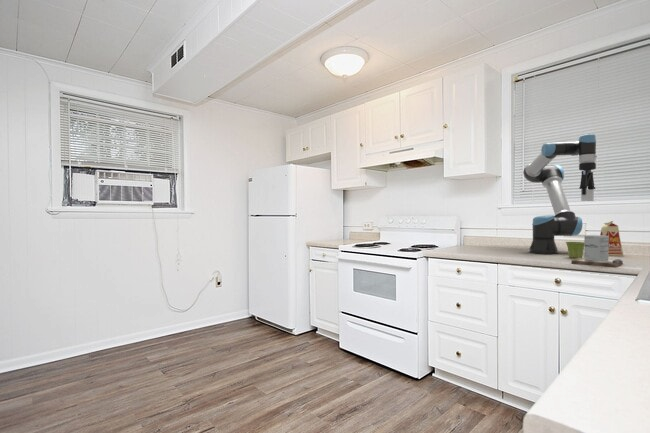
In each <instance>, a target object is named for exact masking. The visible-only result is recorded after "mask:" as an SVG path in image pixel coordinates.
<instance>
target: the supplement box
mask: <svg viewBox="0 0 650 433" xmlns="http://www.w3.org/2000/svg"><path fill="white" fill-rule="evenodd" d="M583 239H584V240H583V242H584V250H583V258H584V260H591V261H597V262H602V261H608V260H609V256H608V247H609V236H603V235H599V234H585V235H584V238H583Z"/></svg>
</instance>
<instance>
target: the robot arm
mask: <svg viewBox="0 0 650 433" xmlns="http://www.w3.org/2000/svg"><path fill="white" fill-rule="evenodd" d="M596 138H597V136H596V134H593V133H587V134H582V135H579V137H578V141H565V142H547V143H546V142H544V144H542V147H541V149H540V151H541V153H539V155H537V157H536V158H535V159H534V160H533V161H532V162H531V163H529V164H527V165H526V166H525V167H524V169H523V177H524V178H525V180H526V181H528V182H530V183H539V184H540V183H542V187H544V188H545V189H546V190H547V193H548V198H549V200H550V203H551V206H552V210H553V212H554V215H553V214H549V215H539V216H535V217H534V218H532V224H531V225H532V240H531V241H532V242H531V244H530V246H529V253H531V254H540V255H541V254H542V255H556V254H559V250H558V247H557V244H556V242H555V237H573V236H575V237H576V236H579V234H581V232H582V229H583V219H582V217H580V216H576V213H575V212H574V211H572V210H571V209H570V206H569V203H568V200H567V197H566V194H565V192H564V188H563V186H562V182H563V180H564V178H565V171H564V168H563V167H562V166H561V165H558V164H550V165H549V163H551V162H552V161H553V160H554V159H555V158H556V157H558V156H573V157H574V156H578V163H579V164H578V169H579V171H581V176H580V183H579V185H580V186H579V188H578V189H579V190H581V191H580V200H581V202H594V197H595V196H594V194H595V192H594V190H596V186H595V182H594V171H593V170H596V169H597V166H596V165H597V163H596V161H597V160H596V159H597V158H598V156H597V155H596V151H597V150H596V149H597V140H596Z"/></svg>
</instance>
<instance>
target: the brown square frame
mask: <svg viewBox="0 0 650 433" xmlns="http://www.w3.org/2000/svg"><path fill="white" fill-rule="evenodd" d="M570 263H571V264H572V265H581V266H582V265H584V266H585V265H586V266H593V267H594V266H595V267H596V266H597V267H608V268H618V267H620V266H621V265H623V264H624V263H623V260H622V259H620V258H615V259H608V261H602V262H597V261H591V260H584V257H582V258H574V259H572V260H571V262H570Z"/></svg>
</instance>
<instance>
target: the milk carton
mask: <svg viewBox="0 0 650 433" xmlns="http://www.w3.org/2000/svg"><path fill="white" fill-rule="evenodd" d="M603 224H604V225H603V226H602V227H601V230H600V235H603V236H609V247H608V257H610V256H611V257H612V256H614V257H615V256H616V257H617V256H619V257H624V251H623V247H622V241H621V235H620V230H619V225H617V224H615V223H614V220H612V221H609V222H604V223H603Z"/></svg>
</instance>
